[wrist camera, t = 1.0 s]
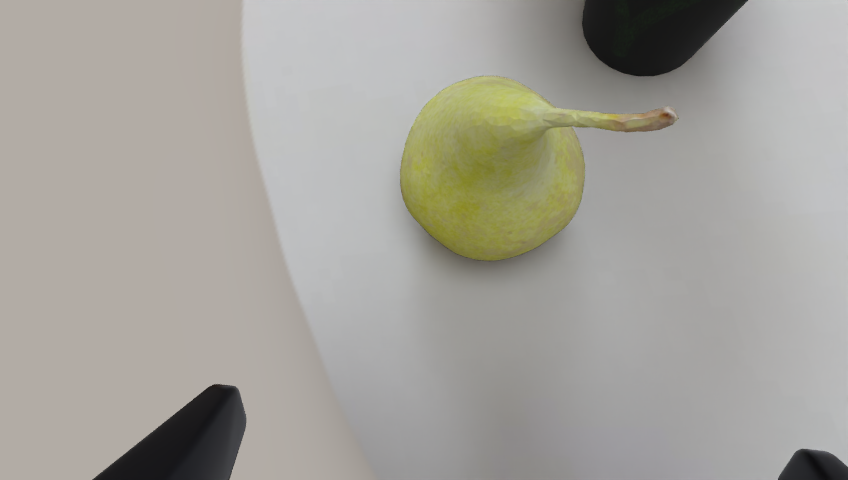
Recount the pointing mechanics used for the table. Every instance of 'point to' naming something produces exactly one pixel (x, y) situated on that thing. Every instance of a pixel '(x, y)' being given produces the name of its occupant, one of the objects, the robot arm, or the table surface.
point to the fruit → (500, 165)
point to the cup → (652, 31)
